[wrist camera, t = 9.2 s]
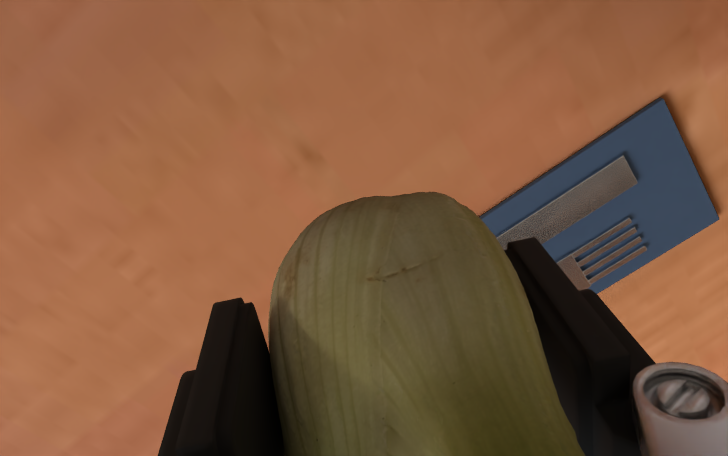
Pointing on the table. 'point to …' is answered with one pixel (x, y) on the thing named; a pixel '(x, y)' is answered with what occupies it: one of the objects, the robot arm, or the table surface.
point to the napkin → (624, 193)
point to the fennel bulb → (409, 338)
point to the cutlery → (574, 208)
